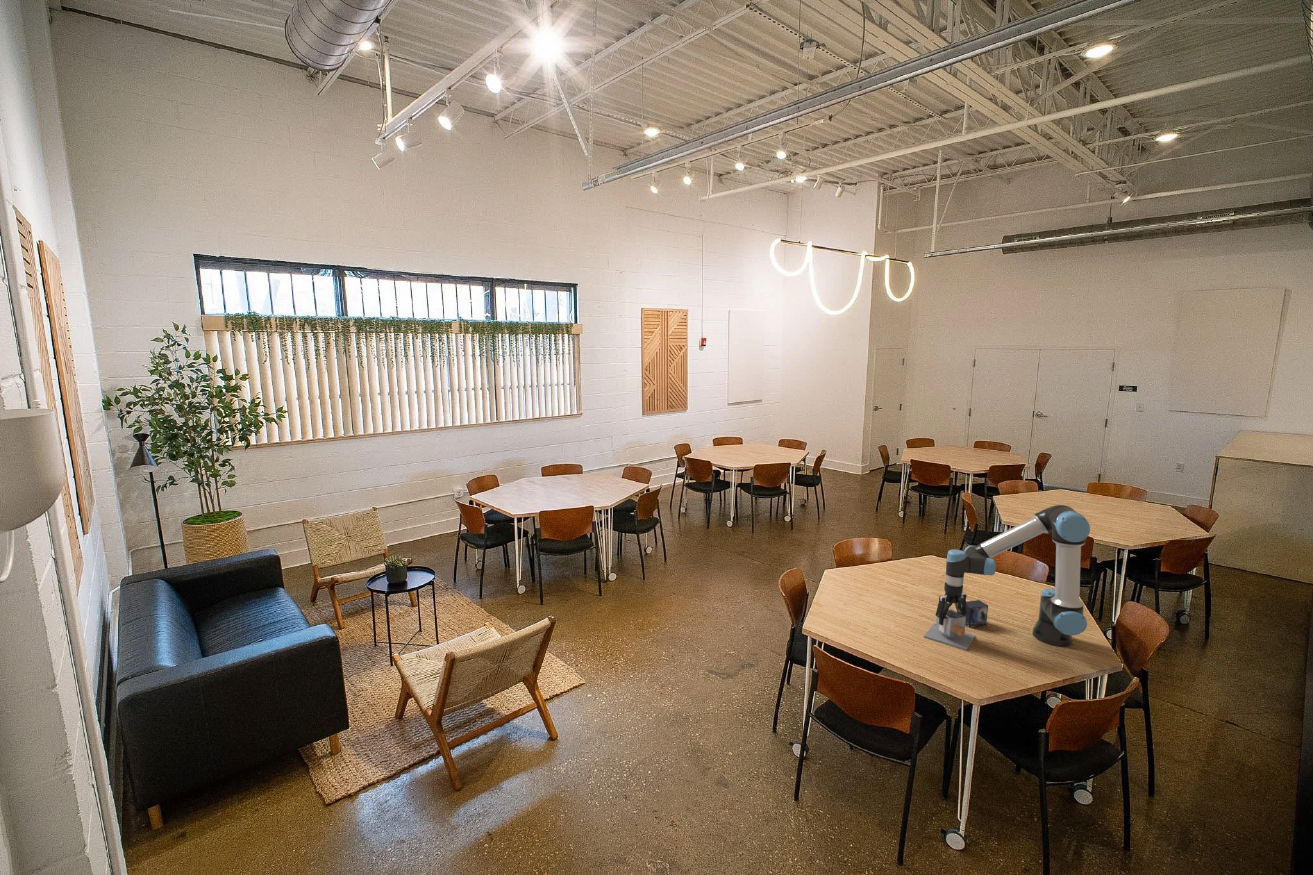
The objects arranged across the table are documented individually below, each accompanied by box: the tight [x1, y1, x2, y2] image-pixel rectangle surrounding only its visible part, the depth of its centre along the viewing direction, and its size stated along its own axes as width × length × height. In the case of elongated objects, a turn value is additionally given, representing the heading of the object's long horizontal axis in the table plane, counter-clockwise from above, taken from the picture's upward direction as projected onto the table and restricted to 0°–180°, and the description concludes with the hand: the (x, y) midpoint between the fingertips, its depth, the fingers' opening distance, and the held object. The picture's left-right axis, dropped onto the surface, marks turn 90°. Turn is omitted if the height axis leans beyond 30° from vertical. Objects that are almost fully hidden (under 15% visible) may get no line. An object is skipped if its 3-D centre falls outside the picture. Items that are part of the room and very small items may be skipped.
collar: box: [935, 608, 966, 636], centre depth 264 cm, size 8×11×8 cm
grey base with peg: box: [923, 623, 976, 651], centre depth 266 cm, size 18×16×8 cm
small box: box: [964, 599, 989, 628], centre depth 278 cm, size 11×6×10 cm, turn 105°
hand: (949, 629), depth 266 cm, fingers closed on collar, 8 cm apart
